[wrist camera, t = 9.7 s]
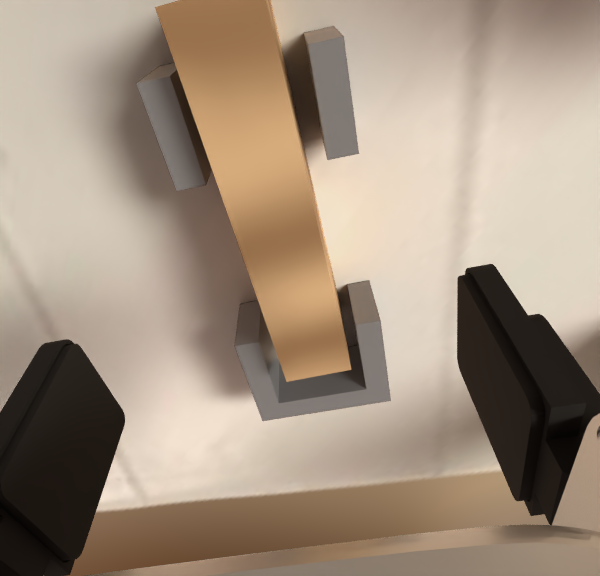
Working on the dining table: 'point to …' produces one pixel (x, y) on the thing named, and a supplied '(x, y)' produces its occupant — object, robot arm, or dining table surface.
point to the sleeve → (184, 133)
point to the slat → (261, 172)
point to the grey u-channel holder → (320, 389)
